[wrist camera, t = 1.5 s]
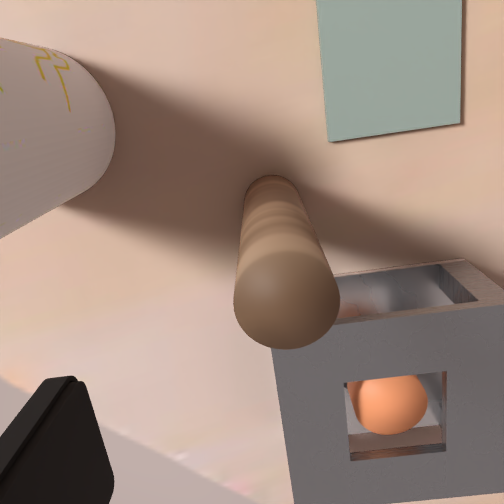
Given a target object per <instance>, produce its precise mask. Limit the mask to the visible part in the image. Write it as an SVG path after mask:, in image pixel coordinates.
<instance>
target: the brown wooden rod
mask: <svg viewBox="0 0 504 504" xmlns="http://www.w3.org/2000/svg"><path fill="white" fill-rule="evenodd" d="M233 304H234V312H235V316H236V318H237V321H238V323H239V325H240V326H241V328H242V329H243V330H244V332H245V333H246V334H247V335H248V336H249V337H251V338H252V339H253V340H255V341H256V342H258V343H260V344H262V345H264V346H267V347H270V348H274V349H283V350H289V349H297V348H301V347H305V346H307V345H310V344H312V343H314V342H315V341H317V340H319V339H320V338H321V337H323V336H324V335H325V334H326V333H327V332H328V331H329V329H330V328H331V327H332V325H333V324H334V322H335V320H336V318H337V316H338V312H339V308H340V293H339V289H338V285H337V283H336V280H335V278H334V276H333V273H332V271H331V269H330V266H329V264H328V262H327V259H326V257H325V255H324V252H323V250H322V248H321V245H320V243H319V241H318V238H317V236H316V234H315V231H314V229H313V227H312V224H311V222H310V220H309V217H308V215H307V213H306V210H305V208H304V206H303V203H302V201H301V199H300V196H299V194H298V192H297V189H296V188H295V186H294V185H293V184H292V183H291V182H290V181H289V180H287V179H286V178H284V177H281V176H277V175H268V176H264V177H261V178H259V179H257V180H256V181H254V182H253V183H252V184H251V185H250V187H249V188H248V190H247V192H246V195H245V199H244V208H243V218H242V227H241V236H240V245H239V254H238V263H237V272H236V281H235V291H234V303H233Z"/></svg>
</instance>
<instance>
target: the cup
mask: <svg viewBox="0 0 504 504" xmlns="http://www.w3.org/2000/svg"><path fill="white" fill-rule="evenodd" d="M115 136H116V133H115V122H114V117H113V113H112V110H111V107H110V104H109V102H108V100H107V97H106V95H105V94H104V92H103V90H102V88H101V87H100V85H99V84H98V83H97V81H96V80H95V79H94V78H93V76H92V75H91V74H90V73H89V72H88V71H87V70H86V69H85V68H84V67H83V66H81V65H80V64H79V63H77V62H76V61H75V60H73V59H72V58H70V57H68V56H66V55H64V54H62V53H60V52H58V51H55V50H52V49H49V48H45V47H41V46H36V45H32V44H27V43H23V42H18V41H14V40H9V39H5V38H0V239H1V238H3V237H4V236H6V235H8V234H10V233H12V232H13V231H15V230H17V229H19V228H20V227H22V226H24V225H26V224H28V223H29V222H31V221H33V220H35V219H36V218H38V217H40V216H42V215H44V214H45V213H47V212H49V211H51V210H52V209H54V208H56V207H58V206H60V205H61V204H63V203H65V202H67V201H68V200H70V199H72V198H74V197H76V196H77V195H79V194H81V193H83V192H84V191H86V190H88V189H89V188H91V187H92V186H93V185H94V184H95V183H96V182H97V181H98V180H99V179H100V178H101V177H102V176H103V174H104V173H105V171H106V170H107V168H108V166H109V164H110V162H111V159H112V156H113V152H114V147H115Z"/></svg>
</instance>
